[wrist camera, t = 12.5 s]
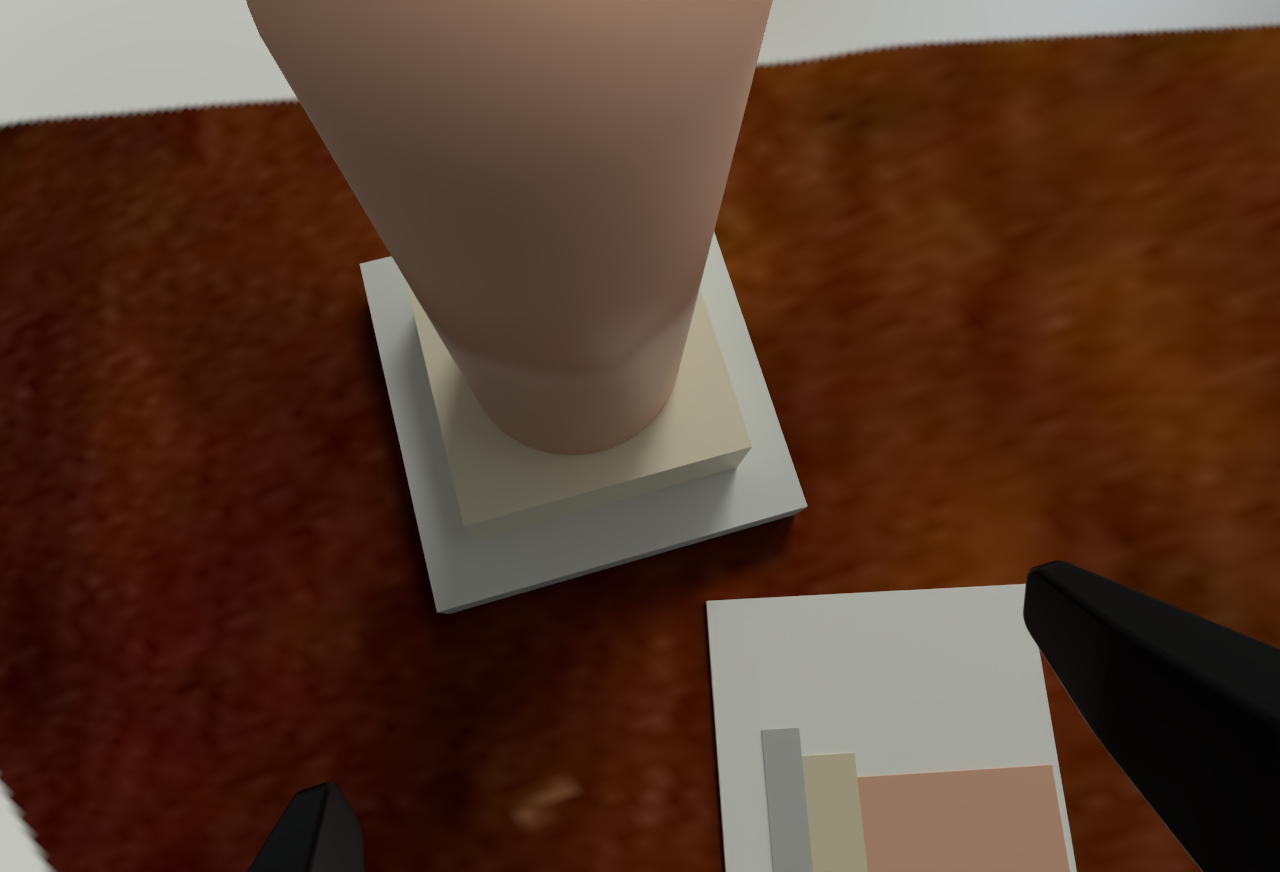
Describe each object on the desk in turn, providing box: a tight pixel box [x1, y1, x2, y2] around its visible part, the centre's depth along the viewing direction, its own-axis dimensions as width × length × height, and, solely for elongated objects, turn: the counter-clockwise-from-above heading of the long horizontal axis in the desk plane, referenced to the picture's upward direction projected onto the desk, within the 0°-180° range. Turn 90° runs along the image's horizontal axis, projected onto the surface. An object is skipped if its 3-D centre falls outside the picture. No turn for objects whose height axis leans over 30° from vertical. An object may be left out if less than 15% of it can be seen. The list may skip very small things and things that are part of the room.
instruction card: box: [706, 584, 1077, 872], centre depth 21 cm, size 12×9×1 cm
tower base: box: [360, 233, 807, 614], centre depth 21 cm, size 10×10×4 cm
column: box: [247, 0, 773, 455], centre depth 14 cm, size 5×5×12 cm
